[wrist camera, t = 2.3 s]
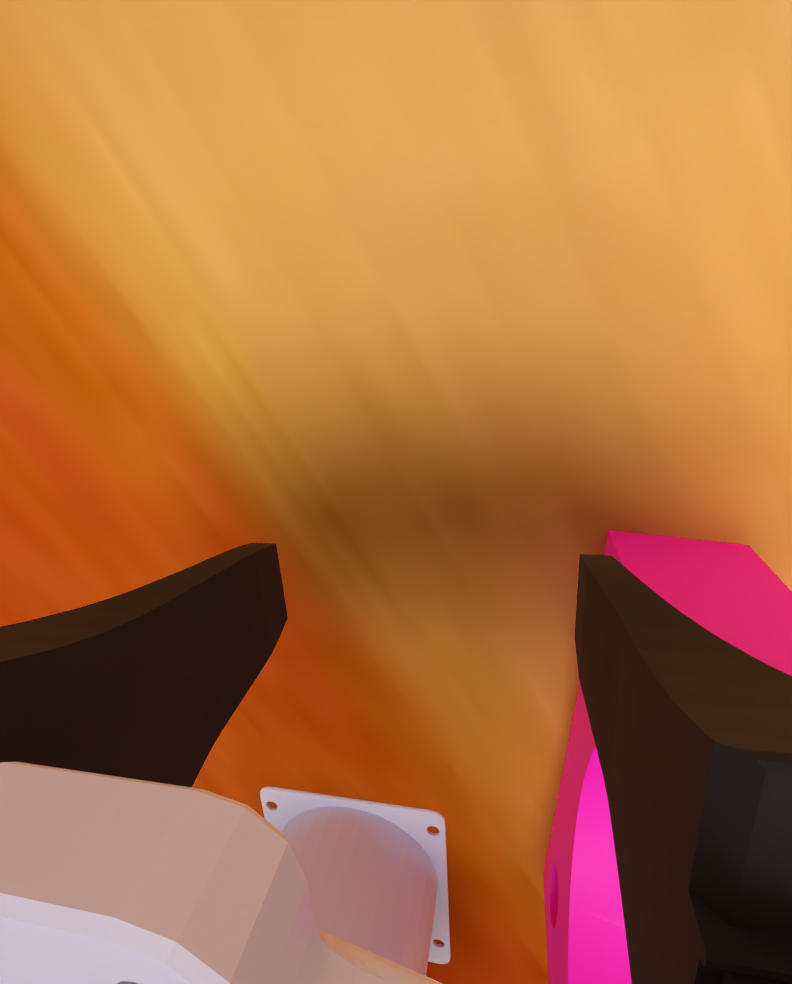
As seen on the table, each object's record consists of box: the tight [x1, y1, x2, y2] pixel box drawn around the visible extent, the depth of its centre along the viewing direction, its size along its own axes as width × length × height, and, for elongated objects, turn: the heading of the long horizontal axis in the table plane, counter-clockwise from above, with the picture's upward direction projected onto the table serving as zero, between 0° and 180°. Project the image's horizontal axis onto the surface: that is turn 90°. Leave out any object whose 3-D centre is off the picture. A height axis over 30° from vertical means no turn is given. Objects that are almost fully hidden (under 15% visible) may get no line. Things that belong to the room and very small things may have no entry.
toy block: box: [543, 530, 792, 984], centre depth 14 cm, size 15×6×8 cm, turn 178°
